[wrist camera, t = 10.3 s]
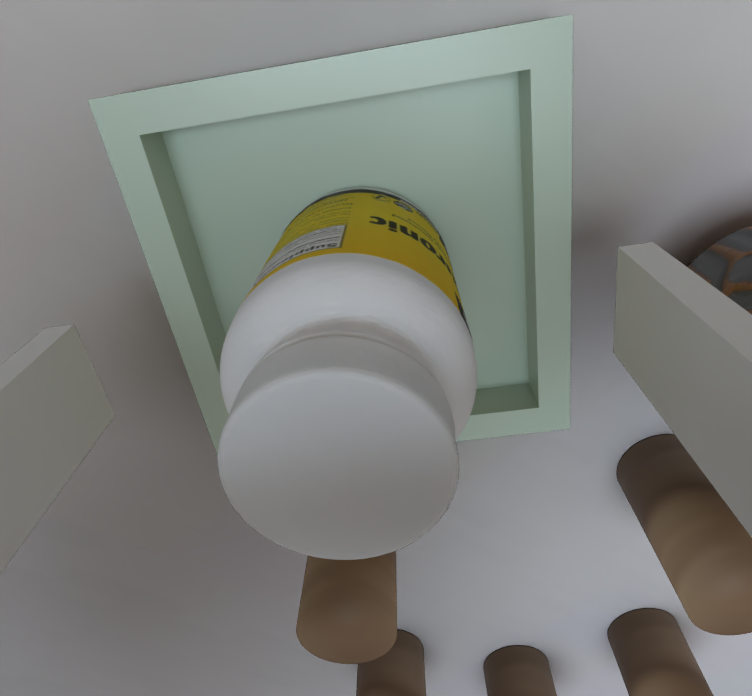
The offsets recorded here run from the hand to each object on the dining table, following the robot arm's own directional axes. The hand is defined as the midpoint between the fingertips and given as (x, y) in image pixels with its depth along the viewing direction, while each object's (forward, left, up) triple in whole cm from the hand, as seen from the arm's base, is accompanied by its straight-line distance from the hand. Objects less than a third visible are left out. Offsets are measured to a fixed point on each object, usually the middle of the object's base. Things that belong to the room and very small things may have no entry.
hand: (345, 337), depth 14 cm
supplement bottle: (0, 0, -5) cm, 5 cm away
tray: (0, 0, -5) cm, 5 cm away
